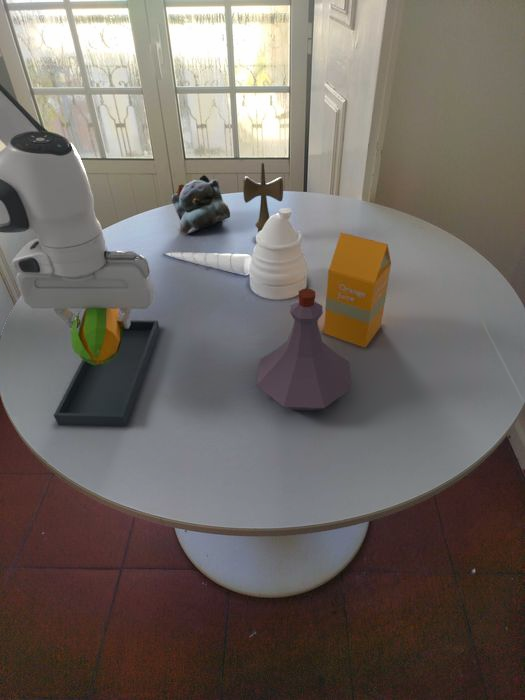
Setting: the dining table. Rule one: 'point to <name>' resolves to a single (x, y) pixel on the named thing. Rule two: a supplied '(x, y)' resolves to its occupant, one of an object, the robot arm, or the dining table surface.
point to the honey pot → (278, 259)
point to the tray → (110, 382)
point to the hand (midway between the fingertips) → (99, 326)
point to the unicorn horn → (218, 261)
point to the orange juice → (356, 289)
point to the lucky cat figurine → (199, 204)
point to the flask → (304, 363)
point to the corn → (97, 335)
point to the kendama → (262, 194)
